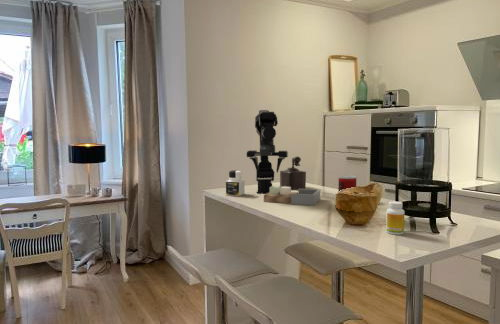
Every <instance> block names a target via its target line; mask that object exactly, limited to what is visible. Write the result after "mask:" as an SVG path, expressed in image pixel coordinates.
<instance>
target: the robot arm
mask: <svg viewBox="0 0 500 324" xmlns="http://www.w3.org/2000/svg"><path fill="white" fill-rule="evenodd" d="M278 124H279V122H278V116H277V113H275V112H274V111H270V110H269V109H260V110H258V114H257V115H256V116H255V117H254V128H255V130H256V133H257V135H258V136H259V151H257V150H253V149H252V150H247V151H246V158H249V159H250V160H251V161H252V163H253V164H254V167H255V171H256V173H255V180H256V181H255V182H257V191H256V193H257V194H267V193H268V192H270V187H271V186H273V183H272V182H274V181H275V171H274V168H273V165H272V162H270V160H269V157H277V162H276V163H277V164H276V173H277V174H278V172H279V171H280V166H281V164H282V161H284V160H285V159H286V158H288V157H289V151H287V150H278V151H276V145H275V144H274V139H275V137H276V135H277V133H276V132H277V131H276V129H275V128H274V127H277V125H278ZM258 156H259V157H260V158H259V157H258ZM258 158H259V159H258ZM259 160H260V161H259Z"/></svg>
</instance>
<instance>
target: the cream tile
mask: <svg viewBox="0 0 500 324" xmlns="http://www.w3.org/2000/svg"><path fill="white" fill-rule="evenodd" d="M291 192H292V190H291V187H281V188H280V194H282V195H289V194H291Z"/></svg>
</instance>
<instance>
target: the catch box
mask: <svg viewBox="0 0 500 324" xmlns="http://www.w3.org/2000/svg"><path fill="white" fill-rule="evenodd" d="M297 190H298V191H297V192H298V194H291V203H290V204H291V205H299V206H316V204H317V203H318V202H320V200H321V189H313V188H305V189H297Z"/></svg>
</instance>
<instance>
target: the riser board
mask: <svg viewBox="0 0 500 324" xmlns="http://www.w3.org/2000/svg"><path fill="white" fill-rule="evenodd" d="M291 194H298V191H291ZM291 194H289V195H282V194H280V193H279V194H270V192H268V193H264V194H263V202H264V203H266V202H267V203H277V204H291Z"/></svg>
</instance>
